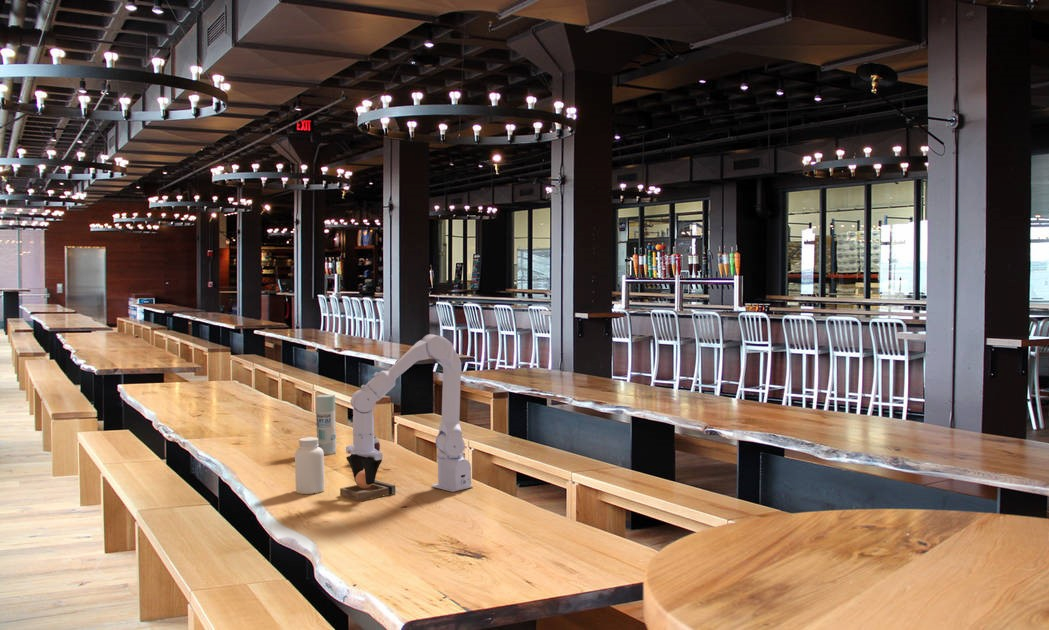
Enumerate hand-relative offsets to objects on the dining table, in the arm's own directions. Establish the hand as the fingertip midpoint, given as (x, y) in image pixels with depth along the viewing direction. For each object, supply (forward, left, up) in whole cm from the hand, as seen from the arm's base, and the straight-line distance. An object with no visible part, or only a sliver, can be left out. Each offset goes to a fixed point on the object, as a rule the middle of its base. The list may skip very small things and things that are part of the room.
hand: (364, 482), depth 240 cm
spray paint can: (+59, -25, -4) cm, 64 cm away
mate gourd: (+36, -26, -4) cm, 44 cm away
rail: (+1, -6, -4) cm, 7 cm away
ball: (0, 0, -2) cm, 2 cm away
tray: (0, 0, -4) cm, 4 cm away
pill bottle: (+16, +8, -4) cm, 18 cm away
